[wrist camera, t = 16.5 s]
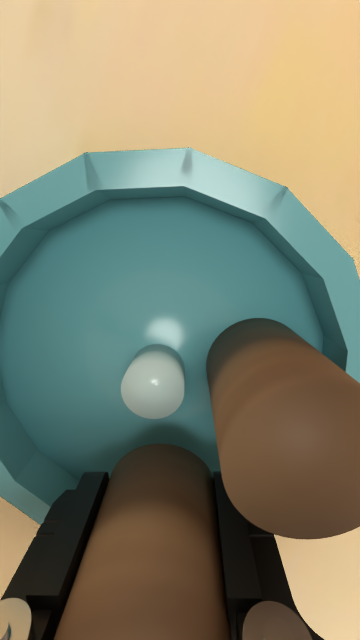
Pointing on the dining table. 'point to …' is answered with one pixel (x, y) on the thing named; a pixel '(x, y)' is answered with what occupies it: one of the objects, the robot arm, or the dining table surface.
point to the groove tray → (145, 306)
